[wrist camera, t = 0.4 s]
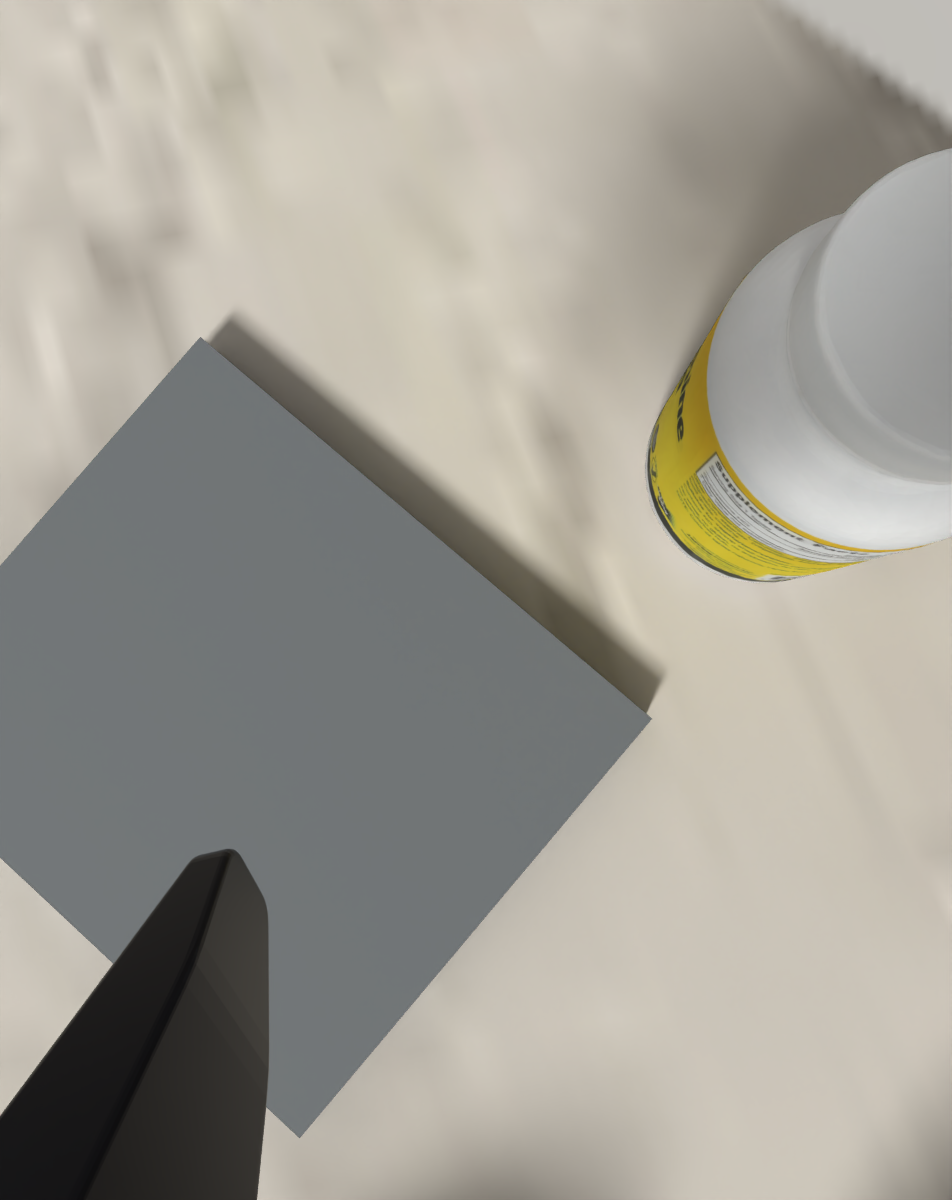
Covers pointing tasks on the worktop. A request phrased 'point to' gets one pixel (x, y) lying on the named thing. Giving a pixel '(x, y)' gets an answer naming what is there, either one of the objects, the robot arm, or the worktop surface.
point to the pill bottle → (821, 396)
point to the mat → (280, 714)
